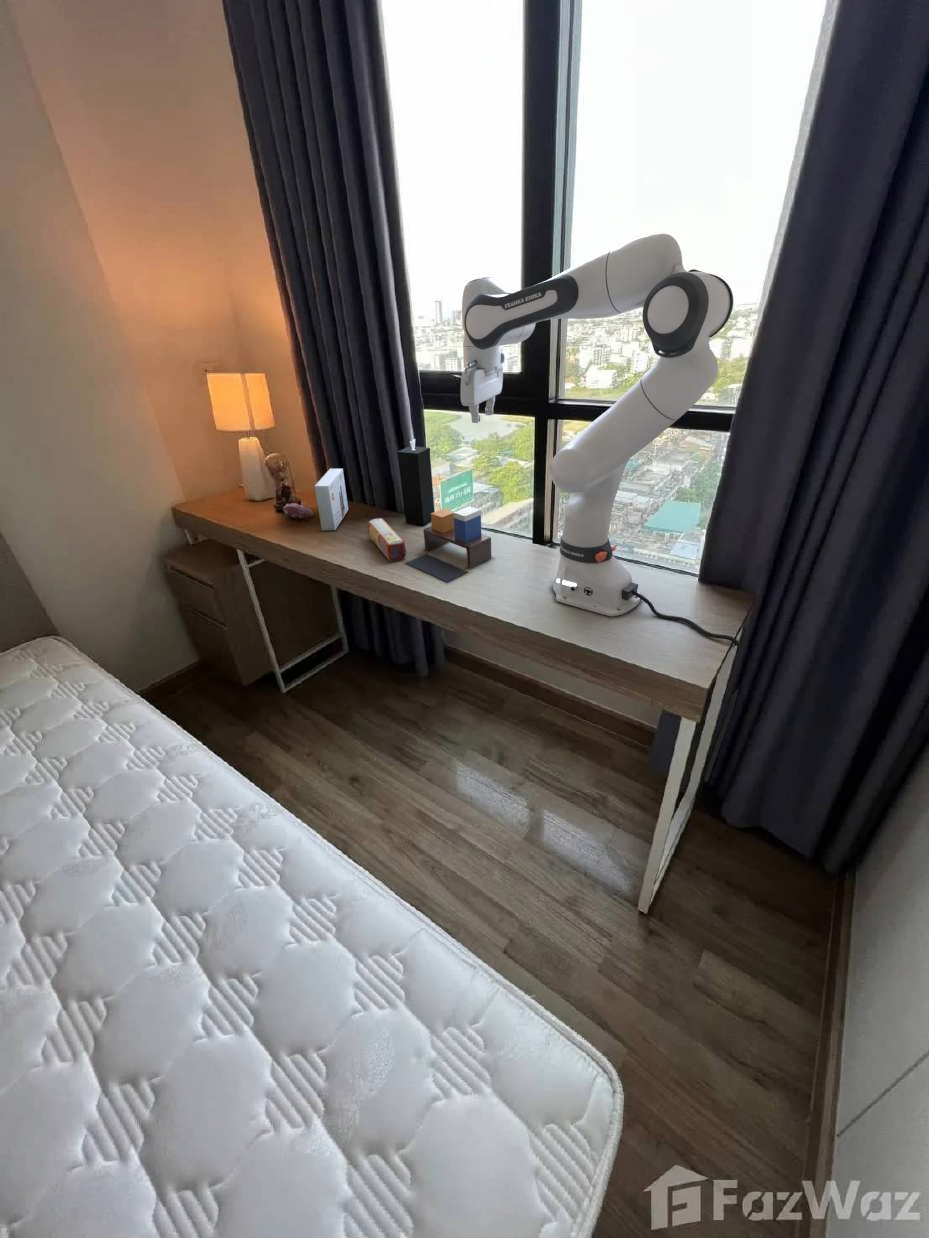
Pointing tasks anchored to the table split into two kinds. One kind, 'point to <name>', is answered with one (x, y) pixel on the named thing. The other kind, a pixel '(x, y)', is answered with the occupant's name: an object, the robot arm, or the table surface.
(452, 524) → the ochre box
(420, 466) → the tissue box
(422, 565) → the felt pad
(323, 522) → the skincare box
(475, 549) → the desk shelf
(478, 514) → the dark blue box
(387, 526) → the snack package
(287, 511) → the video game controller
